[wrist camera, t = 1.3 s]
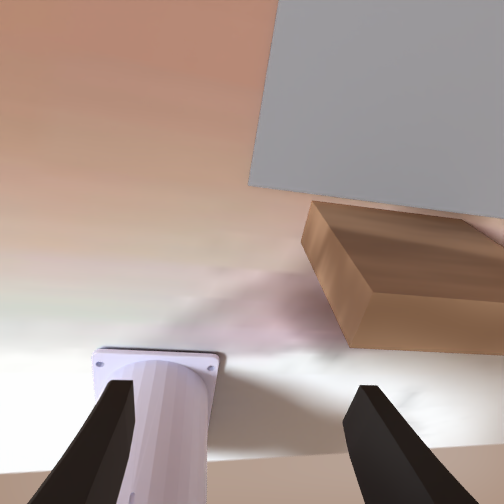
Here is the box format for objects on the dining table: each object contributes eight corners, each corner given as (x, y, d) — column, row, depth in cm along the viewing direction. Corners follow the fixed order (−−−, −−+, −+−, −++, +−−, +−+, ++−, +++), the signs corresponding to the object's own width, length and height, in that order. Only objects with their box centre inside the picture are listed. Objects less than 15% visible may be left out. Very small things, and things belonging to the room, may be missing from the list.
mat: (518, 219, 20) (521, 221, 19) (248, 184, 17) (248, 185, 17) (644, 12, 15) (648, 12, 15) (292, -83, 12) (293, -85, 12)
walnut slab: (440, 259, 21) (553, 361, 14) (299, 244, 19) (348, 351, 12) (461, 219, 19) (597, 310, 12) (311, 200, 18) (373, 292, 11)
